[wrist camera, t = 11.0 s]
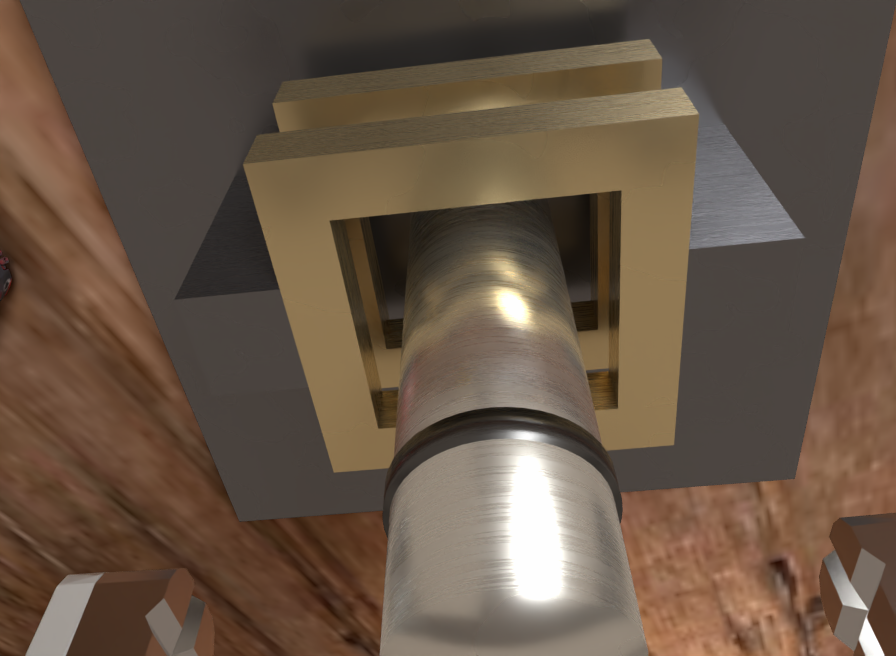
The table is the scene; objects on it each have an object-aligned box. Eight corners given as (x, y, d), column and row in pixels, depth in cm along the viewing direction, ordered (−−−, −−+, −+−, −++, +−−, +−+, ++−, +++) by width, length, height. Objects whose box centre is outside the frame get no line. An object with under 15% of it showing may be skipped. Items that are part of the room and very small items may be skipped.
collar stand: (-90, -334, 14) (-382, -374, 9) (971, -505, 13) (1301, -659, 8) (245, 498, 27) (200, 666, 22) (783, 455, 26) (862, 624, 21)
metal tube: (398, 139, 18) (345, 594, 9) (546, 123, 18) (663, 571, 8) (418, 264, 20) (394, 746, 11) (552, 251, 20) (651, 729, 10)
